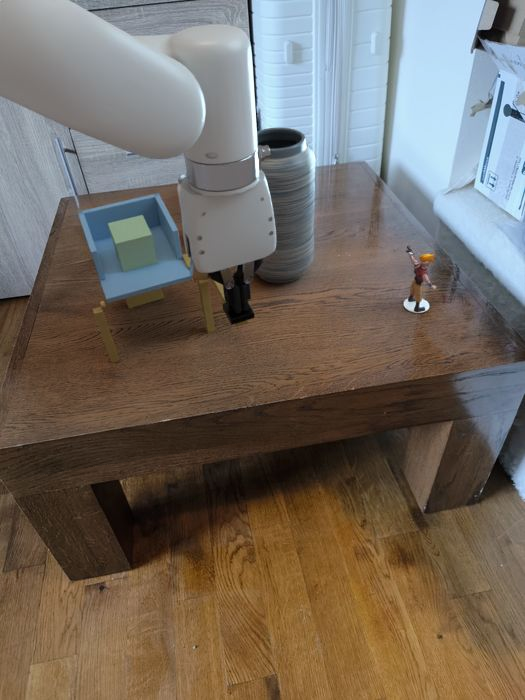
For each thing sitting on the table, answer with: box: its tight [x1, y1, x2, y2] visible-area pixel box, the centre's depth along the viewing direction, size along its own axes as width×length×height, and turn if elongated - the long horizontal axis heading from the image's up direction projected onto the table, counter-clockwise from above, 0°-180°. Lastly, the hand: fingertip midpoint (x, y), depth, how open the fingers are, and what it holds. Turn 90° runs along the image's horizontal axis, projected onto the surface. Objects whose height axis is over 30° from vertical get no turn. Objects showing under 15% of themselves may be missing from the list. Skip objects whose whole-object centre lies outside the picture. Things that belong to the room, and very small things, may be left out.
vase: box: [254, 127, 316, 284], centre depth 83 cm, size 12×12×23 cm
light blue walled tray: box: [77, 192, 255, 327], centre depth 70 cm, size 17×26×6 cm, turn 23°
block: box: [108, 215, 158, 272], centre depth 73 cm, size 5×5×5 cm
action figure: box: [403, 245, 438, 314], centre depth 79 cm, size 12×3×9 cm, turn 9°
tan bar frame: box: [92, 280, 216, 364], centre depth 78 cm, size 16×13×10 cm
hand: (238, 305), depth 66 cm, fingers closed
